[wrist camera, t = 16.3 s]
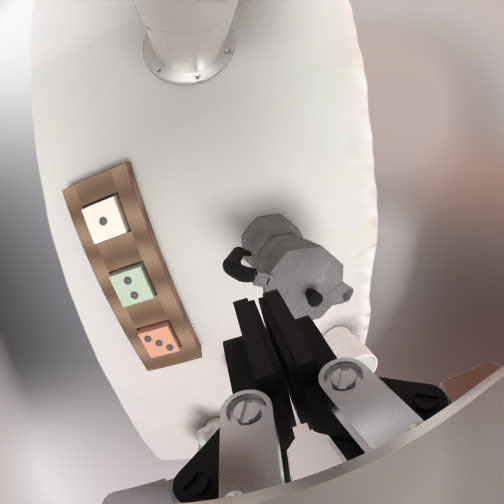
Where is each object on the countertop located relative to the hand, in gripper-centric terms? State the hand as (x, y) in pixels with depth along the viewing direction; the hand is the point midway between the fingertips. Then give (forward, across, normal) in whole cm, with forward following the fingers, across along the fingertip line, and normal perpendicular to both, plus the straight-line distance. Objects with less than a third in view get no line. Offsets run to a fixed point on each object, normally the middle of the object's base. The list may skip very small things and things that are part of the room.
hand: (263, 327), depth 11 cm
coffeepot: (+32, -6, +9) cm, 34 cm away
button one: (+31, +15, -1) cm, 34 cm away
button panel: (+32, +14, +9) cm, 36 cm away
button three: (+30, +14, +19) cm, 38 cm away
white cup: (+32, -15, +33) cm, 48 cm away
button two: (+31, +14, +9) cm, 35 cm away
